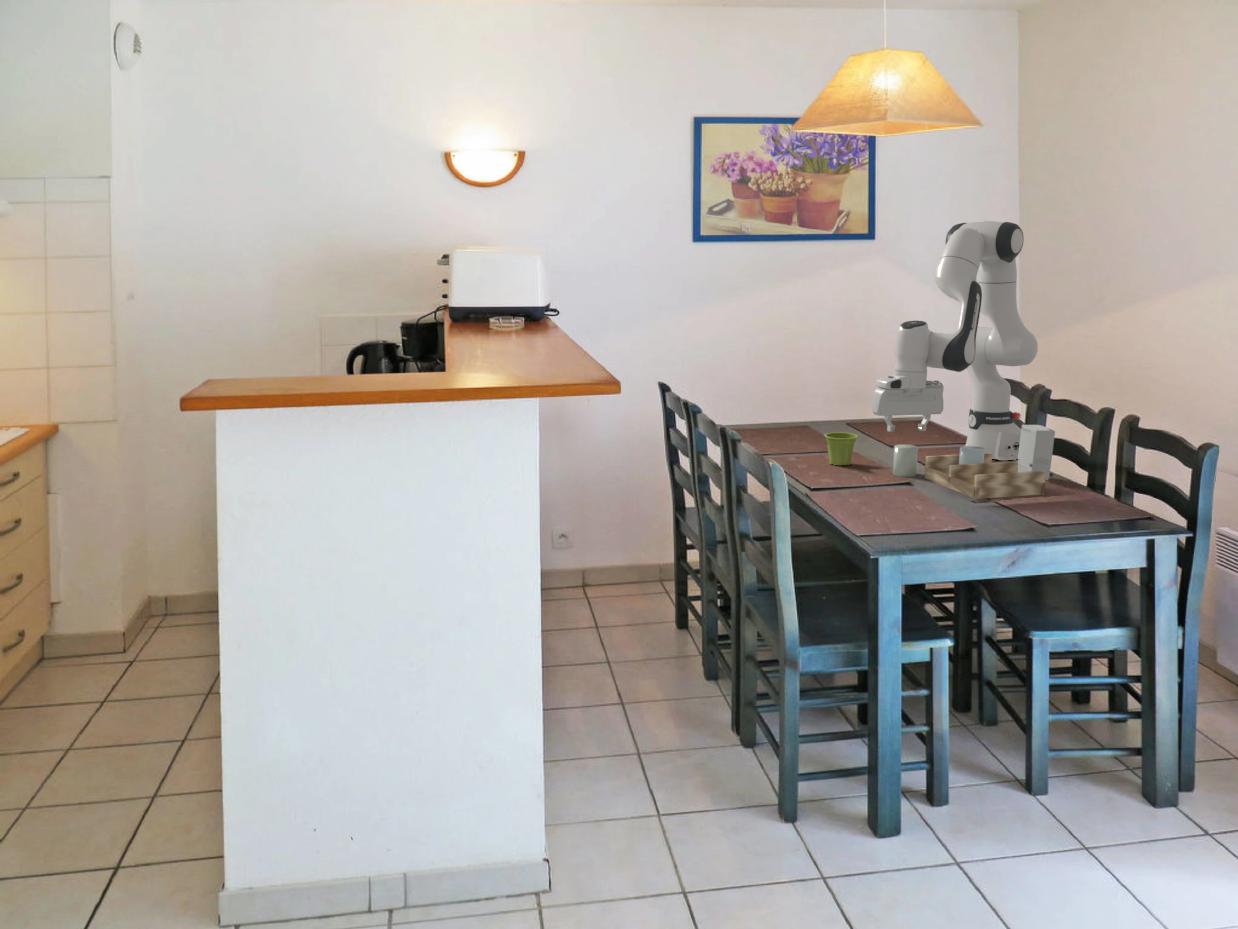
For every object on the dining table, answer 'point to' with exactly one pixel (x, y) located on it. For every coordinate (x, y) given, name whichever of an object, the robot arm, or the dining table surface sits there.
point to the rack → (984, 478)
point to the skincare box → (1035, 449)
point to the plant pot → (840, 447)
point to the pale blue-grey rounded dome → (971, 455)
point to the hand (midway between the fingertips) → (906, 430)
